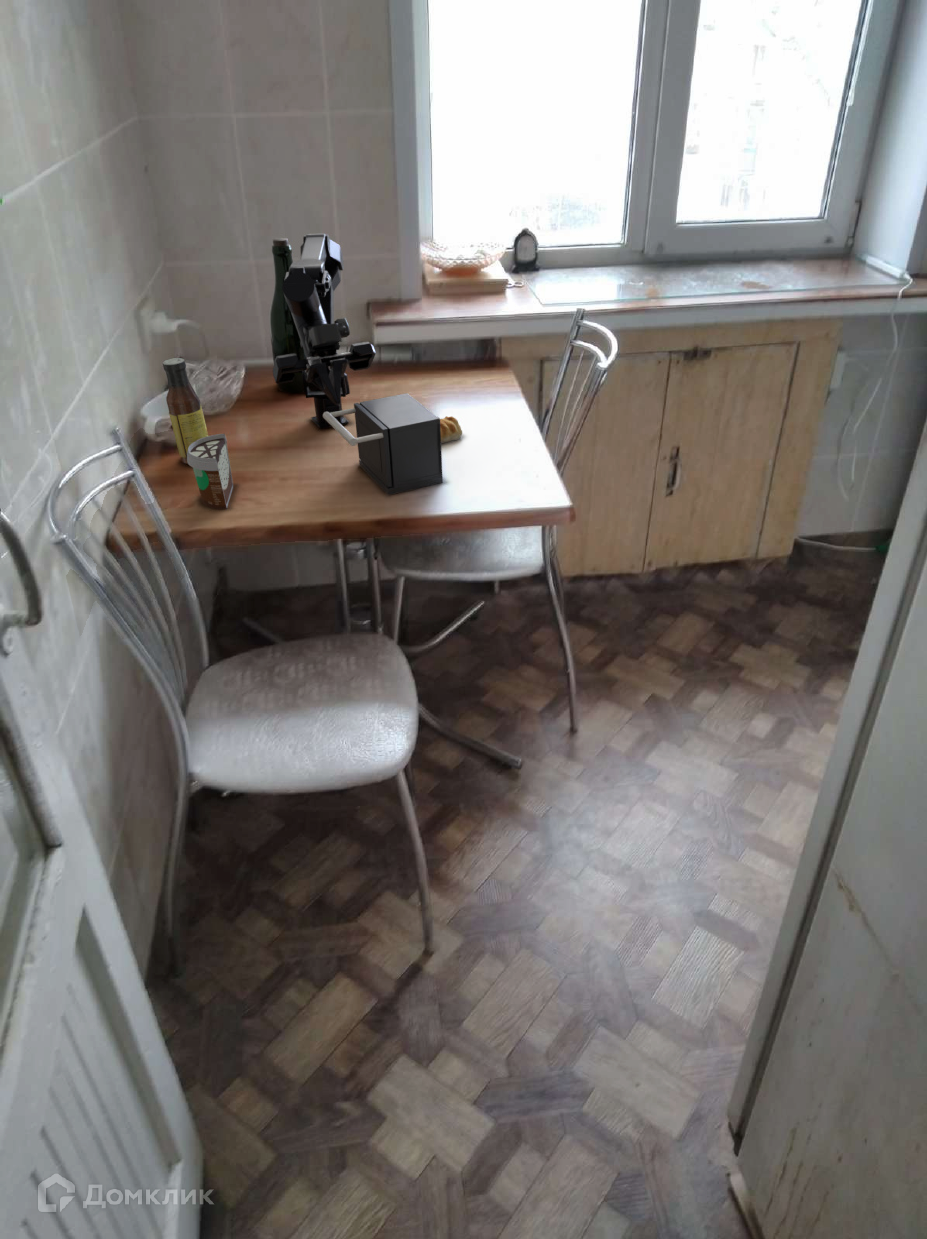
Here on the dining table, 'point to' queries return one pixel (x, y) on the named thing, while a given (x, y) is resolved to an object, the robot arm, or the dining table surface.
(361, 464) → the oven
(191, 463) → the food container
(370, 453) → the oven door
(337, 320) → the robot arm
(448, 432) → the pastry
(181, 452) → the sauce bottle
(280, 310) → the green wine bottle
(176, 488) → the dining table surface
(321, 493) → the dining table surface
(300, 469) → the dining table surface
